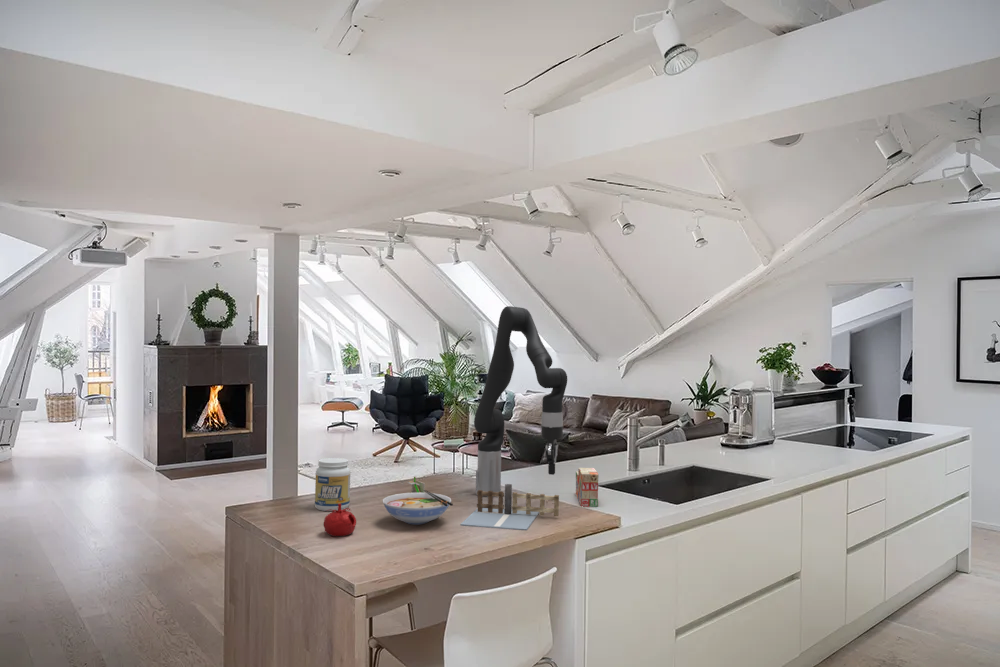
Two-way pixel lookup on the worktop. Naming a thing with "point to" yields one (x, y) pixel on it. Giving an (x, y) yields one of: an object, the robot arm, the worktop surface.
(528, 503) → the hinged fence panel
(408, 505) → the ramen bowl
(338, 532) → the pomegranate
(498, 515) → the card
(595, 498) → the stack of blocks
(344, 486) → the supplement tub
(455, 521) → the worktop surface
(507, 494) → the fixed fence
